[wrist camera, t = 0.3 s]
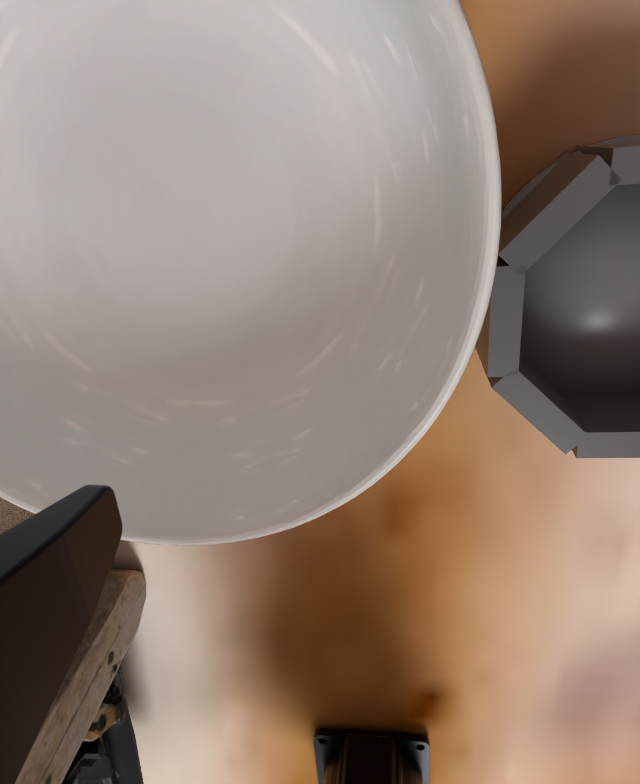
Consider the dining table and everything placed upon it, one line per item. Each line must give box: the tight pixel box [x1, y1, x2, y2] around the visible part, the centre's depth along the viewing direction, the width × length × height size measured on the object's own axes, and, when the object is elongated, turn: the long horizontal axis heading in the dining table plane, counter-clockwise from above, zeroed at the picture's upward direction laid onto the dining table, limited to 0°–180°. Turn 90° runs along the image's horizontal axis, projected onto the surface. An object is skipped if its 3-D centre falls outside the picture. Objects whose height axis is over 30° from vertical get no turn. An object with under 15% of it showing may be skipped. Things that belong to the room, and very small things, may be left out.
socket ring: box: [475, 135, 640, 458], centre depth 19 cm, size 10×10×4 cm
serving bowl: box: [0, 0, 502, 545], centre depth 18 cm, size 21×21×7 cm
